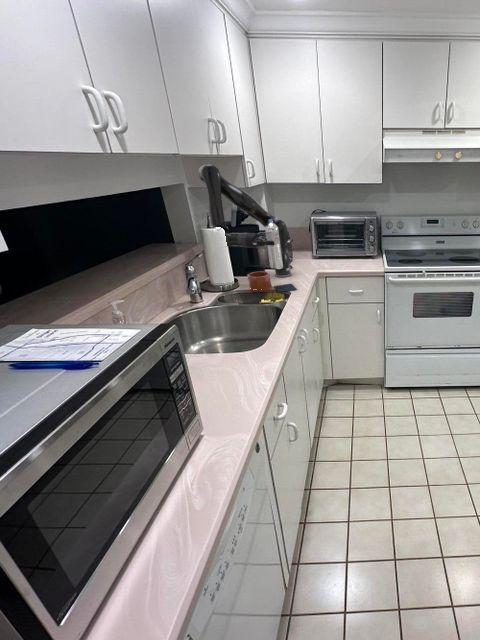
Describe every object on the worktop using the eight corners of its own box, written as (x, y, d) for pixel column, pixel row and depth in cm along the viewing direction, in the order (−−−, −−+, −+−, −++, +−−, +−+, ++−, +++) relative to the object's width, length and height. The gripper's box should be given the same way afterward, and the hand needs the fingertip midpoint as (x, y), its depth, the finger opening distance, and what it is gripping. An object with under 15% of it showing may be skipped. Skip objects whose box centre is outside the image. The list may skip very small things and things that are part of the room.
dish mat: (273, 287, 216) (273, 286, 215) (291, 284, 220) (291, 283, 219) (278, 292, 207) (278, 291, 207) (296, 289, 211) (296, 288, 211)
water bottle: (275, 270, 203) (268, 221, 191) (267, 268, 207) (260, 219, 195) (285, 267, 208) (280, 219, 196) (278, 265, 212) (272, 218, 200)
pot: (248, 287, 216) (246, 273, 212) (268, 284, 220) (266, 270, 217) (252, 292, 207) (250, 278, 203) (273, 289, 212) (271, 275, 208)
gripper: (240, 235, 195) (270, 237, 192) (254, 230, 208) (282, 232, 205) (242, 250, 199) (272, 252, 196) (256, 244, 211) (284, 246, 208)
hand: (277, 241), depth 200 cm, fingers closed on water bottle, 6 cm apart
